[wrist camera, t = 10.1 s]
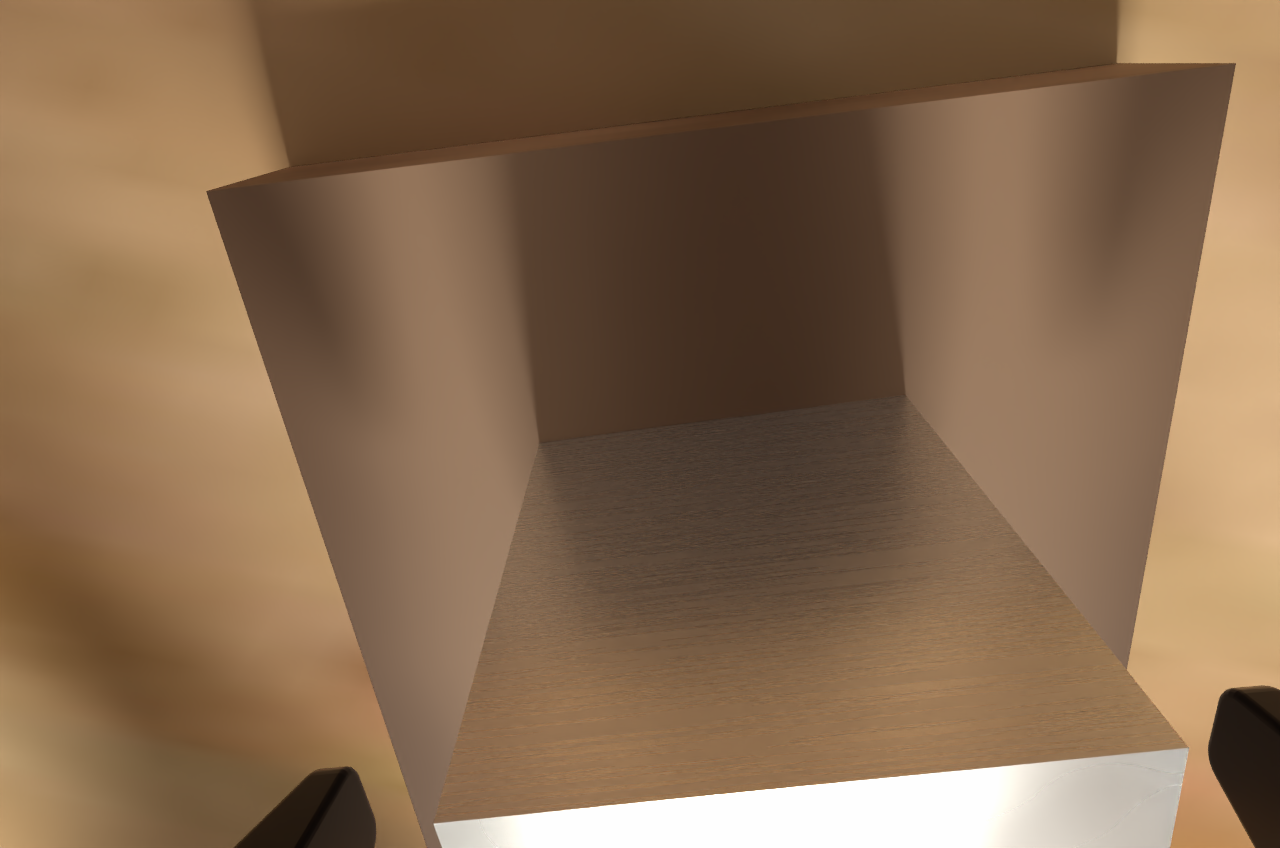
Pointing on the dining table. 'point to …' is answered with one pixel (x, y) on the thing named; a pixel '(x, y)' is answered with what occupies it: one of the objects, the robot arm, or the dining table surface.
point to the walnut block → (729, 325)
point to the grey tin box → (793, 656)
